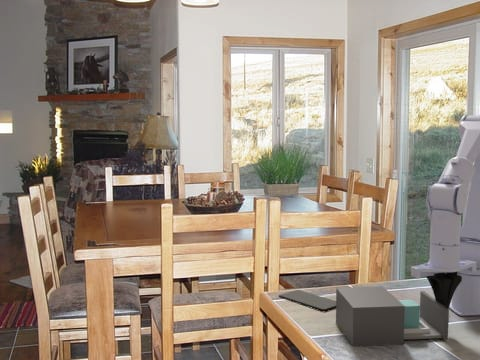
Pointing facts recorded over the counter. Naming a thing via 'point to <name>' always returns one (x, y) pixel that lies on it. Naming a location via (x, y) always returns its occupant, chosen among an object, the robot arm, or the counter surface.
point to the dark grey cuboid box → (370, 316)
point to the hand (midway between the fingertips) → (442, 308)
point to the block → (411, 314)
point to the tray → (430, 320)
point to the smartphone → (310, 300)
